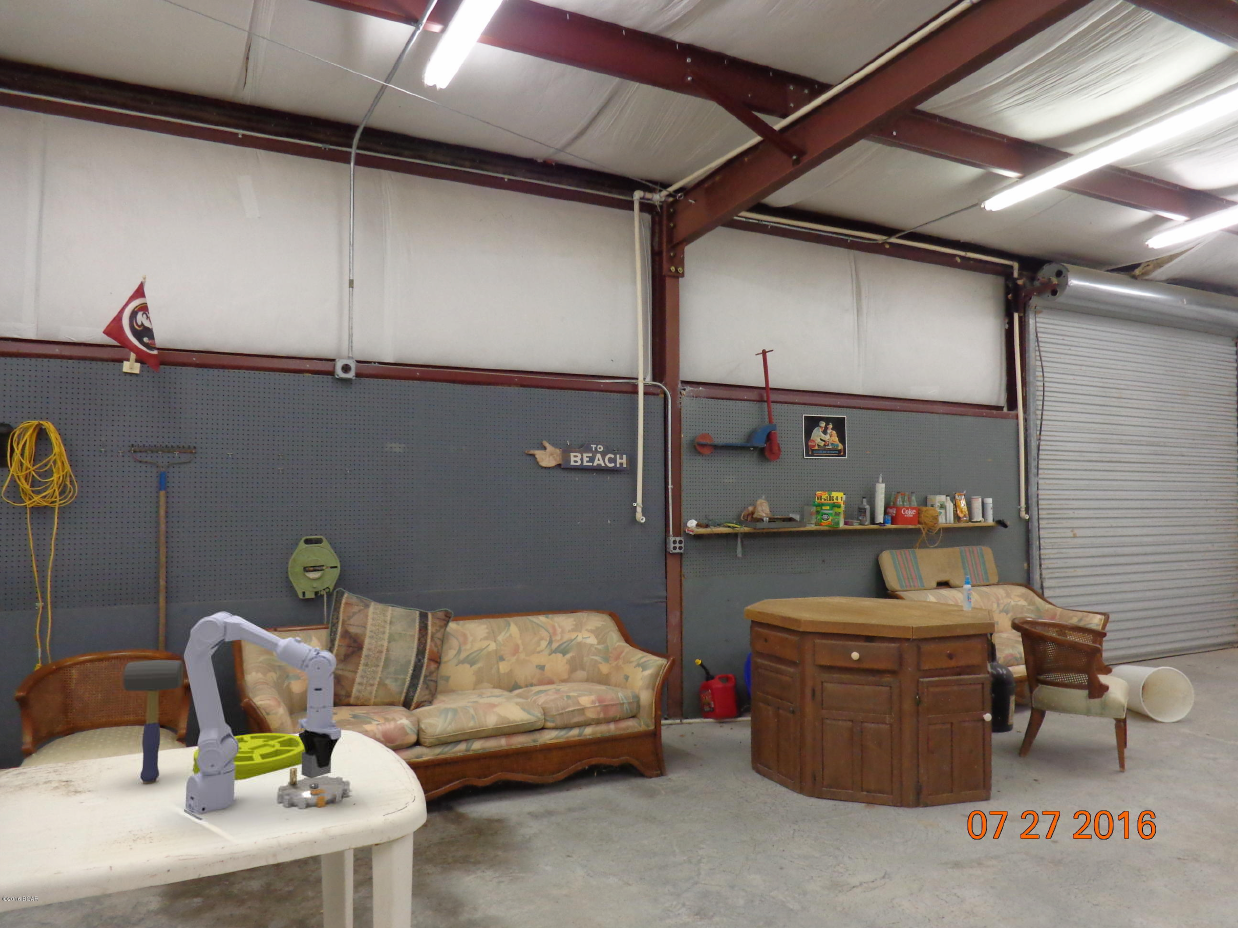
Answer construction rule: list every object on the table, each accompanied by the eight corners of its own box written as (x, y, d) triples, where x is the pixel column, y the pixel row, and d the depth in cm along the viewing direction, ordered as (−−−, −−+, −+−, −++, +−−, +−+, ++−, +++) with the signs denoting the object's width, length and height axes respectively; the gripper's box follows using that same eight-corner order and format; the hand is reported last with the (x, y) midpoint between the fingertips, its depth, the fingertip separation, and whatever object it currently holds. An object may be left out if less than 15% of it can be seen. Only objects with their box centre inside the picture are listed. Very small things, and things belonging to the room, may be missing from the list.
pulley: (180, 760, 219) (181, 742, 219) (285, 742, 237) (286, 724, 237) (210, 789, 198) (211, 768, 198) (322, 766, 216) (323, 746, 217)
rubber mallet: (180, 775, 207) (185, 656, 208) (173, 784, 199) (178, 661, 201) (125, 779, 203) (130, 658, 204) (116, 789, 196) (121, 664, 197)
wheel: (337, 808, 183) (338, 783, 183) (265, 808, 182) (266, 783, 182) (357, 783, 199) (358, 761, 199) (291, 783, 198) (292, 760, 198)
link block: (311, 778, 184) (311, 755, 184) (301, 774, 187) (301, 752, 187) (330, 772, 188) (331, 750, 188) (321, 768, 191) (321, 747, 191)
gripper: (353, 706, 187) (351, 766, 187) (318, 697, 196) (316, 753, 195) (326, 712, 182) (324, 774, 181) (291, 702, 191) (289, 761, 190)
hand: (318, 764), depth 188 cm, fingers closed on link block, 4 cm apart
